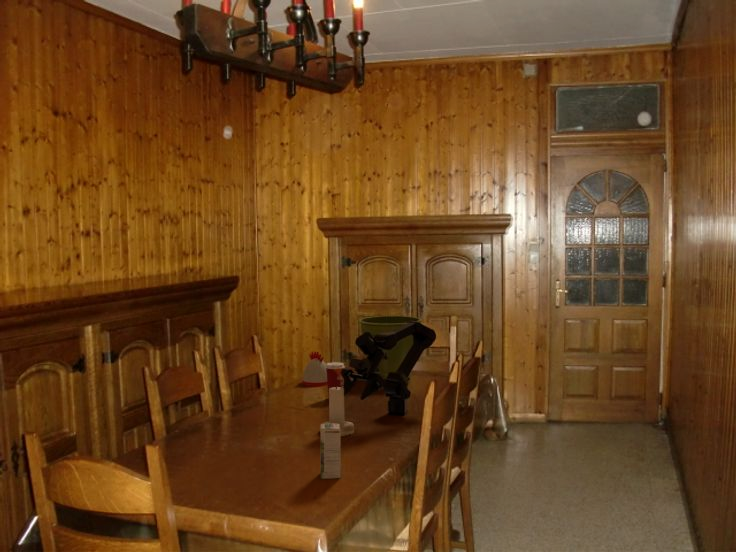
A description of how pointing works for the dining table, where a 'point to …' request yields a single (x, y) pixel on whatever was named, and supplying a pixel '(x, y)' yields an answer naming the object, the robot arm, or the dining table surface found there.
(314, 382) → the white and red hat
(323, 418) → the dining table surface
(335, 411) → the candle
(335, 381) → the coffee cup
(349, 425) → the base disc
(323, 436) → the syrup box
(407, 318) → the plant pot
